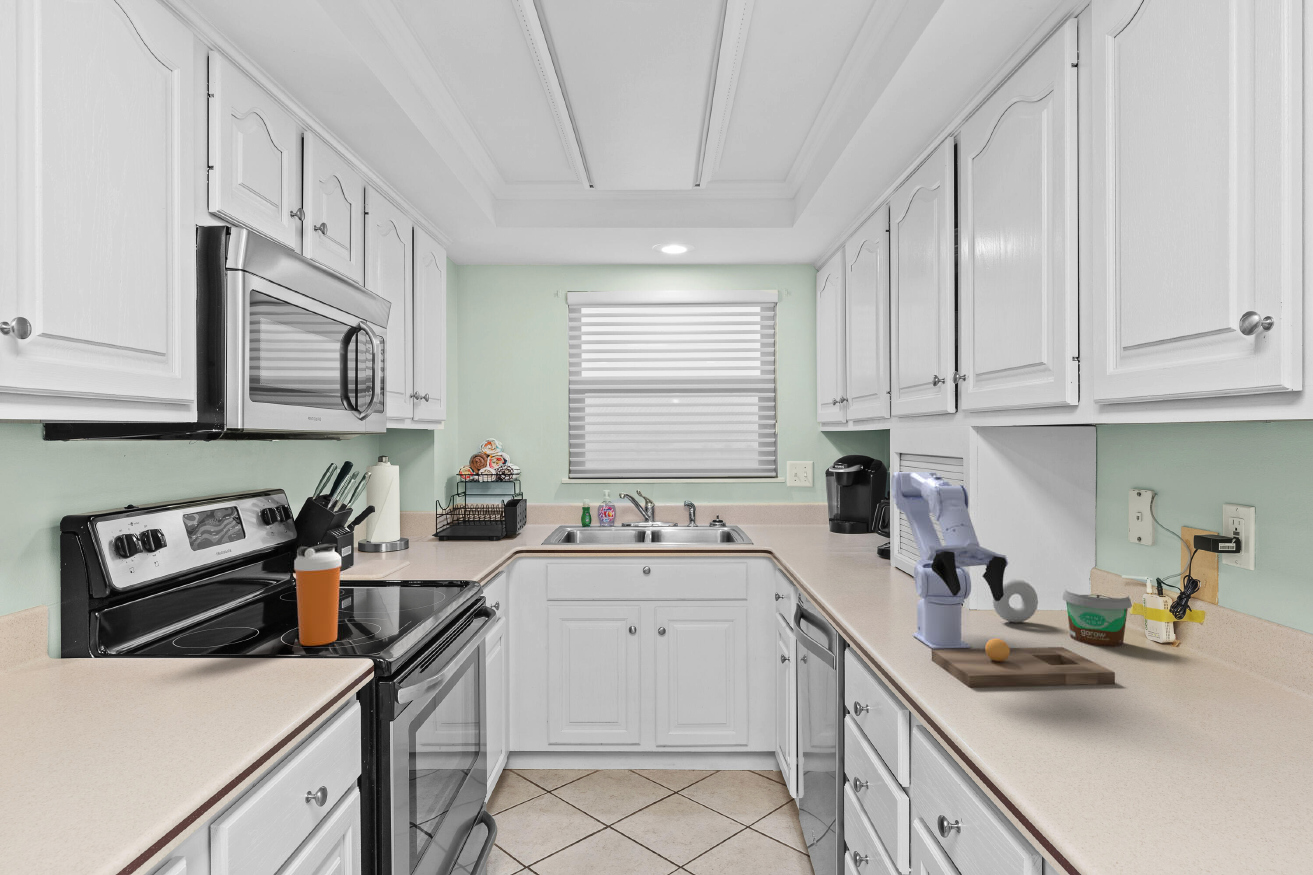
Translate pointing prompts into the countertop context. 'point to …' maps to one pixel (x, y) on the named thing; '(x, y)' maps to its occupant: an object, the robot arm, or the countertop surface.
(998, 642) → the ball
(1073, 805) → the countertop surface
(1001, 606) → the donut
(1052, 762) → the countertop surface
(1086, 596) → the food container
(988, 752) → the countertop surface
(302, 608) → the shaker bottle
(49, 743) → the countertop surface
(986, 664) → the board
